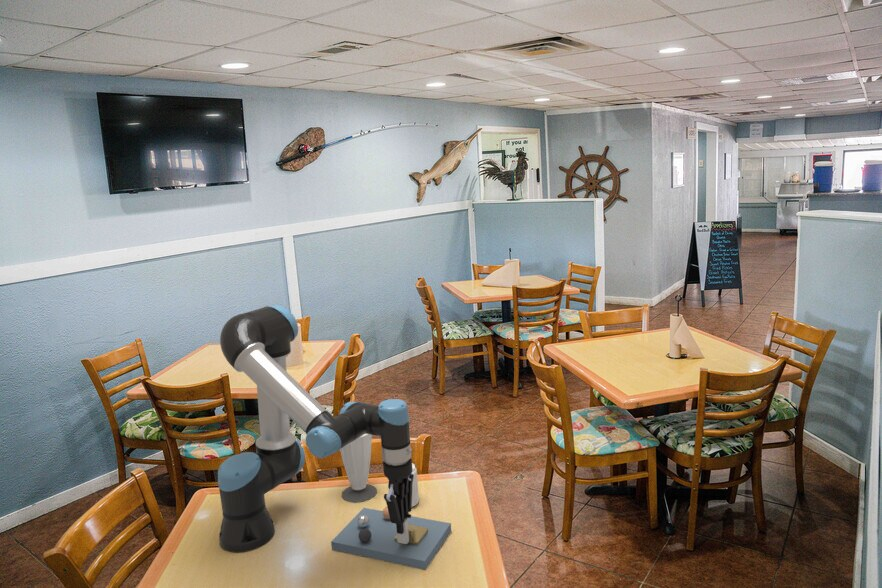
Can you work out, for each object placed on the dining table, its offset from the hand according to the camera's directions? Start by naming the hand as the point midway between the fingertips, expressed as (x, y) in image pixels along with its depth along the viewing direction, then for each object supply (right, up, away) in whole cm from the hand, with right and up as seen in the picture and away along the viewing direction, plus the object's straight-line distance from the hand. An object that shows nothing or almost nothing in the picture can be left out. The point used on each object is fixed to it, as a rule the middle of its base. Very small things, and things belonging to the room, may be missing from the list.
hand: (403, 541), depth 162 cm
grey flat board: (-4, -3, +8) cm, 9 cm away
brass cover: (+2, 0, +5) cm, 5 cm away
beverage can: (-1, +1, +27) cm, 27 cm away
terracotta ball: (-5, +3, +14) cm, 15 cm away
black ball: (-11, 0, +3) cm, 11 cm away
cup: (-16, +2, +34) cm, 38 cm away
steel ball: (-12, +2, +10) cm, 16 cm away
